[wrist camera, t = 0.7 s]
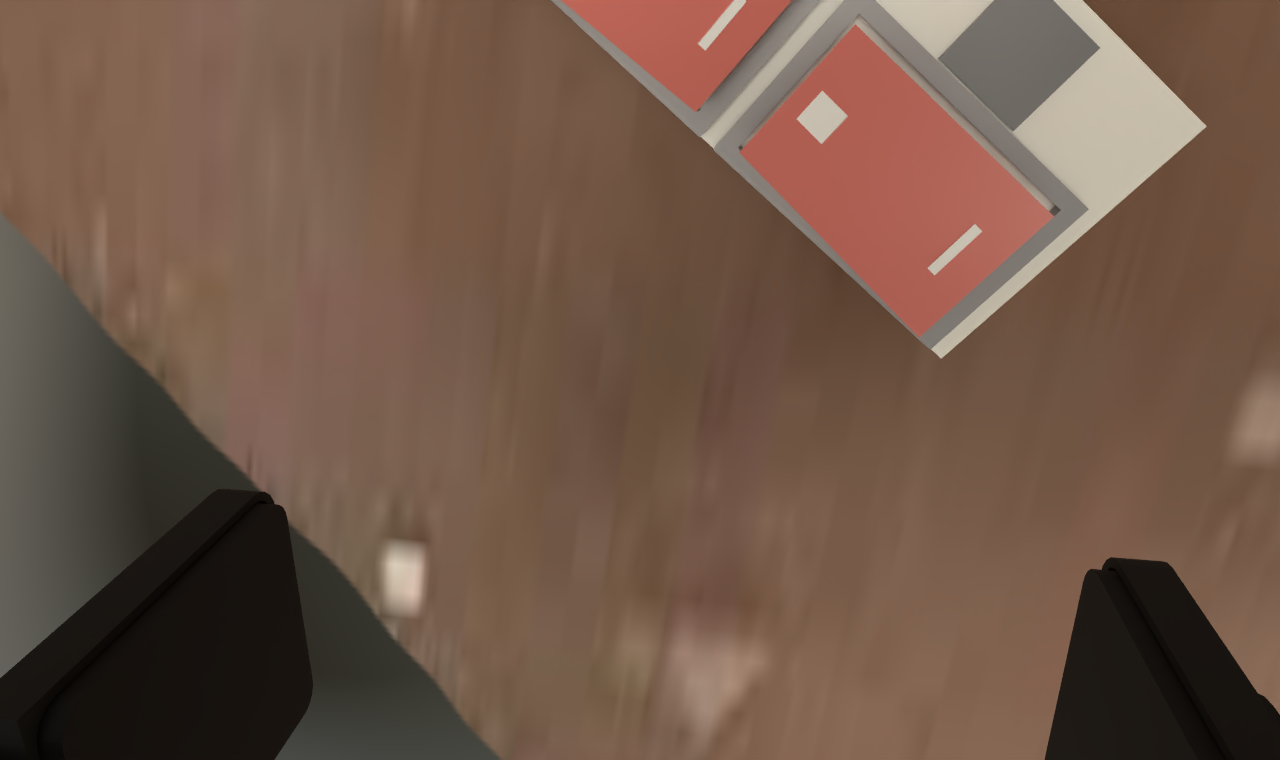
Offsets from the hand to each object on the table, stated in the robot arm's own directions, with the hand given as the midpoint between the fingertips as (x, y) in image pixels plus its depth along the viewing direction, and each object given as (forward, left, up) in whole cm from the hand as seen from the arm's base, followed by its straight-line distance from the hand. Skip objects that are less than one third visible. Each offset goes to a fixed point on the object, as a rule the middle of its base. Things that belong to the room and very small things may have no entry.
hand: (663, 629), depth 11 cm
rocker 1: (-4, +3, -22) cm, 23 cm away
